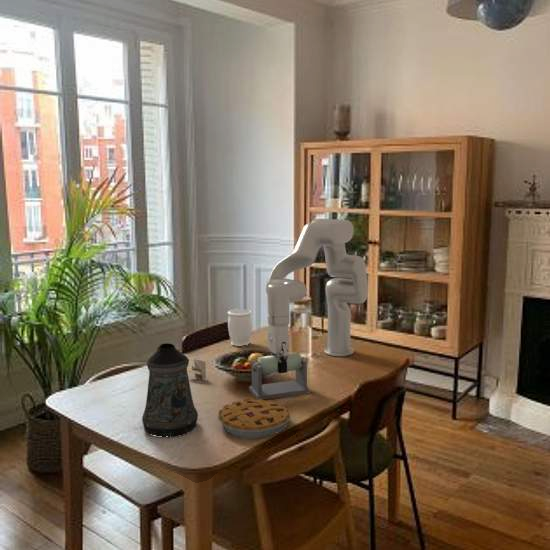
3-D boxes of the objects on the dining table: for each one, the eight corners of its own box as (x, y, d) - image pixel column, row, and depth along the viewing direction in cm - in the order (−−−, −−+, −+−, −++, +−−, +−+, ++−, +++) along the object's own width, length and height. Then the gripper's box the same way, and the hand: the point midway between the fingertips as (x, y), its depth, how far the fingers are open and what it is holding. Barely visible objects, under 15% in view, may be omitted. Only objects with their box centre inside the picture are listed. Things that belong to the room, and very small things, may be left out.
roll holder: (249, 389, 205) (248, 359, 203) (299, 382, 211) (299, 353, 209) (257, 399, 196) (256, 368, 194) (309, 392, 202) (309, 362, 200)
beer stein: (166, 443, 165) (162, 359, 160) (125, 425, 177) (121, 346, 173) (209, 424, 177) (206, 345, 173) (168, 408, 189) (165, 334, 185)
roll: (251, 371, 202) (251, 355, 201) (300, 365, 208) (300, 349, 207) (257, 377, 197) (256, 361, 195) (306, 371, 202) (306, 355, 201)
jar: (225, 347, 255) (225, 313, 252) (231, 340, 265) (230, 308, 262) (249, 348, 253) (249, 314, 250) (254, 341, 263) (253, 309, 260)
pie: (239, 448, 162) (239, 431, 161) (206, 420, 180) (205, 405, 179) (304, 429, 173) (304, 413, 172) (266, 405, 192) (266, 390, 191)
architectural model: (199, 383, 213) (199, 363, 212) (186, 379, 217) (185, 360, 216) (206, 380, 216) (205, 361, 214) (193, 376, 220) (192, 357, 218)
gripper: (260, 314, 206) (261, 363, 209) (276, 326, 190) (277, 379, 193) (280, 312, 208) (281, 361, 211) (297, 324, 192) (298, 376, 195)
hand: (279, 369), depth 202 cm, fingers closed on roll, 5 cm apart
